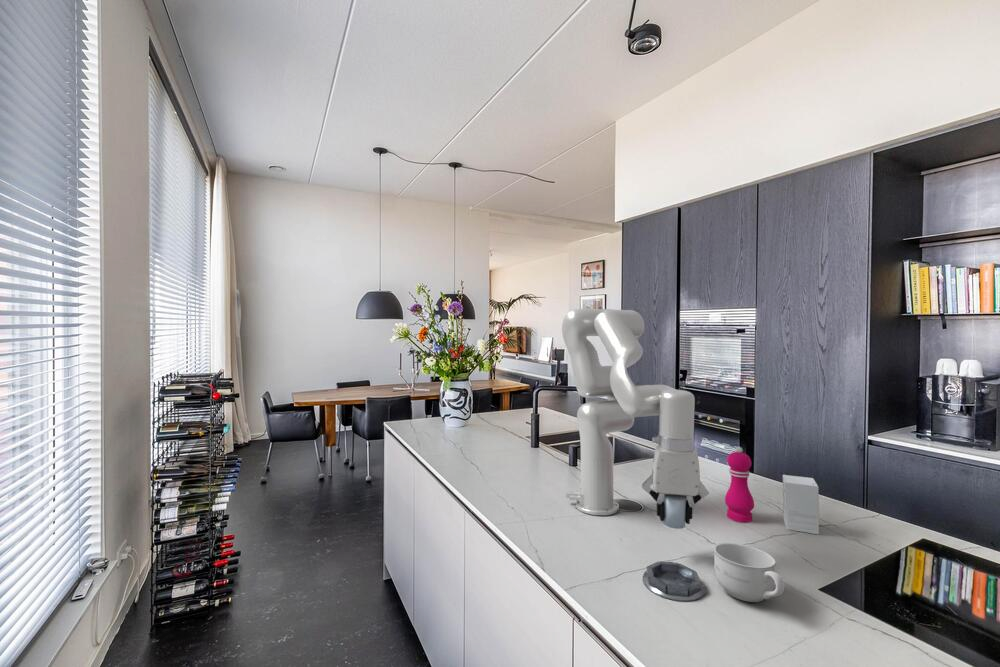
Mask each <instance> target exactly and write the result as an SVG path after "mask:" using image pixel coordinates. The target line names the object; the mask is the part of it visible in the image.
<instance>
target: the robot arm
mask: <svg viewBox="0 0 1000 667" xmlns="http://www.w3.org/2000/svg"><path fill="white" fill-rule="evenodd" d="M645 326H646V325H645V321H644V319H643V316H642V315H641V314H640V313H639V312H637V311H635V310H633V309H613V308H612V309H611V308H610V309H609V308H576V309H573V310H570V311H568V312H567V313H566V314H565V315H564V317H563V319H562V324H561V331H562V332H561V333H562V339H563V341H564V344H565V346H566V349H567V352H568V354H569V357H570V362H571V368H572V373H573V378H574V383H575V384H574V385H575V388H576V390H577V393H578V395H579V396H581V397H583V398H588V399H589V398H590V399H591V398H593V399H594V398H605V397H606V399H607V400H596V401H595V400H594V401H589V402H586V403H583V404H582V405H580V407H579V408H578V409H577V412H576V420H577V426H578V431H579V432H578V433H579V440H580V441H579V442H580V488H579V490H576V491H571V490H566V491H565V497H566V498H569V501H575V508H577V509H578V511H580V512H582V513H584V514H588V515H592V516H610V515H614V514H617V513H618V511H619V510H620V504H619V503H618V502H617V501H616V500H615V499H614V494H615V493H614V489H615V488H614V447H613V445H612V443H611V441H610V439H609V438H608V436H607V434H610V433H617V432H618V433H619V432H625V431H628V430H629V429H631V428H632V427H633V426H634V422H635V418H641V417H651V416H652V417H653V416H658V417H659V422H658V423H659V425H658V428H659V429H658V434H657V436H653V437H652V440H651V441H652V443H653V444H656V445H657V446H655V449H654V453H653V454H654V455H653V460H652V468H651V474H650V475H649V476H648V478H646V480H645V481H644V482H643V483H642V485H641V487H642V490H644V491H645V492H646V493H648V494H649V495H650V497H651V498H652V499H653V500H654V501H655V502H656V512H655V513H656V516H657V517H659V521H660V522H663V521H664V503H663V498H664V496H665V494H672V495H684V496H686V521H685V524H687V525H690V520H693V510H694V509H693V508H694V507H695V505H696V504H697V503H699V501H701V499H703V498H705V497H706V496H708V495H709V494H710V491H709V490H708V489H707V487H706V485H705V484H703V482H702V481H701V475H700V473H701V472H700V471H701V470H700V461H699V455H698V451H697V450H696V449H695V448H694V442H695V441H694V438H695V437H694V432H695V404H696V403H695V402H696V401H695V395H694V394H693V393H692V392H691V391H688V390H684V389H683V390H682V389H676V388H673V387H671V385H670V386H669V385H667V384H644V385H635V383H634V382H633V381H632V378H631V377H630V375H629V372H628V368H629V367H631V366H633V365H634V364H635V363H637V362H638V361H639V360H640V359H641V358H642V356H643V353H644V349H643V347H642V345H641V344H640V342H639V340H638V338H641V336H642V335H643V334H644V332H645ZM587 337H599V338H600V340H601V343H602V344H603V346H604V348H605V350H606V352H607V353H608V356H609V357H610V358H611V360H612V365H602V364H601V363H600V359H599V353H598V351H597V349H596V347H595V346H594V344H593V343H592V342H591V341H590V340H589V339H587ZM651 486H653V488H652V487H651Z"/></svg>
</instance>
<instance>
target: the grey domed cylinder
mask: <svg viewBox="0 0 1000 667" xmlns="http://www.w3.org/2000/svg"><path fill="white" fill-rule="evenodd" d="M663 503H664V521H662V524H663V525H664V526H665V527H668V528H672V529H677V530H678V529H679V530H680V529H684V528H685V527H686V522H685V521H686V496H684V495H672V494H665V496H664V498H663Z"/></svg>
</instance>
